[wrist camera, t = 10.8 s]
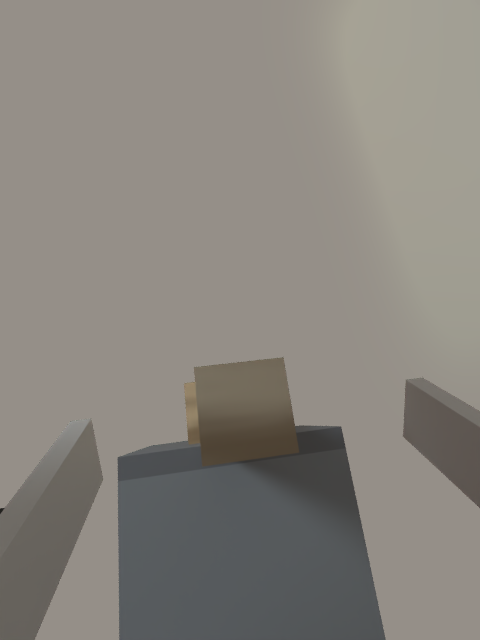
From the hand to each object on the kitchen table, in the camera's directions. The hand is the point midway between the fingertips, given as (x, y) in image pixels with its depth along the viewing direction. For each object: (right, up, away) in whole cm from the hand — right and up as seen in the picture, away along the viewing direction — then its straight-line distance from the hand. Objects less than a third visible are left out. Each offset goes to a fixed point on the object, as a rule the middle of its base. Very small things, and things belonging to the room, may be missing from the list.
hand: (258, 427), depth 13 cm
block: (-1, -4, +10) cm, 10 cm away
